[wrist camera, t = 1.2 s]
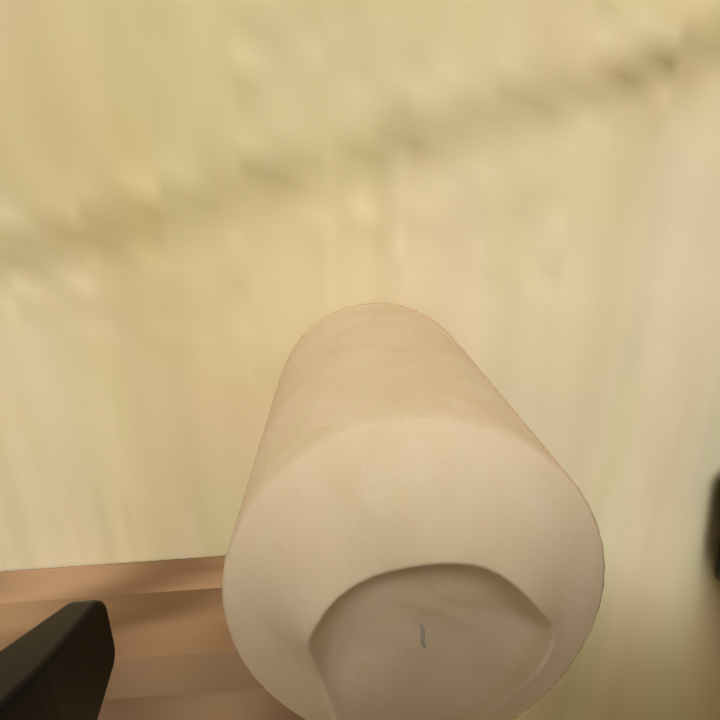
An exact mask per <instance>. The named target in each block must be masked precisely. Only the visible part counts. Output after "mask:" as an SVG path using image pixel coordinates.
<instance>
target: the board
mask: <svg viewBox="0 0 720 720" xmlns="http://www.w3.org/2000/svg"><path fill="white" fill-rule="evenodd" d="M225 557H226V556H218V557H204V558H189V559H175V560H161V561H146V562H132V563H118V564H104V565H89V566H75V567H61V568H46V569H32V570H18V571H3V572H0V651H1V650H2V649H4V648H5V647H6V646H8V645H9V644H11V643H12V642H14V641H15V640H17V639H18V638H19V637H21V636H22V635H24V634H25V633H27V632H28V631H29V630H31V629H32V628H34V627H35V626H37V625H38V624H39V623H41V622H42V621H44V620H45V619H47V618H48V617H49V616H51V615H52V614H54V613H55V612H57V611H58V610H60V609H61V608H62V607H64V606H65V605H67V604H68V603H70V602H72V601H77V600H91V599H100V600H101V601H103V602H104V603H105V605H106V608H107V612H108V616H109V621H110V626H111V630H112V635H113V640H114V645H115V660H114V665H113V669H112V673H111V676H110V679H109V683H108V686H107V689H106V693H105V696H104V700H103V703H102V706H101V710H100V713H99V716H98V720H305V719H304V718H302V717H300V716H299V715H297V714H296V713H294V712H293V711H291V710H290V709H289V708H287V707H286V706H285V705H283V704H282V703H281V702H280V701H279V700H277V699H276V698H275V697H274V696H272V695H271V694H270V693H269V692H268V691H267V690H266V689H265V688H264V687H263V686H262V685H261V684H260V683H259V682H258V681H257V680H256V678H255V677H254V676H253V675H252V673H251V672H250V670H249V669H248V668H247V666H246V665H245V663H244V662H243V661H242V659H241V657H240V655H239V653H238V651H237V649H236V647H235V645H234V643H233V641H232V638H231V635H230V632H229V629H228V626H227V623H226V618H225V613H224V607H223V601H222V577H223V570H224V563H225Z"/></svg>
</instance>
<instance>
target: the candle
mask: <svg viewBox="0 0 720 720" xmlns="http://www.w3.org/2000/svg"><path fill="white" fill-rule="evenodd" d="M604 569H605V564H604V554H603V544H602V540H601V537H600V533H599V529H598V525H597V522H596V520H595V518H594V515H593V513H592V511H591V508H590V506H589V504H588V502H587V501H586V499H585V498H584V496H583V494H582V493H581V491H580V490H579V488H578V487H577V485H576V484H575V482H574V481H573V480H572V479H571V478H570V476H569V475H568V474H567V473H566V472H565V470H564V469H563V468H562V467H561V466H560V464H559V463H558V462H557V461H556V460H555V458H554V457H553V456H552V455H551V454H550V452H549V451H548V450H547V449H546V448H545V446H544V445H543V444H542V443H541V442H540V441H539V439H538V438H537V437H536V436H535V435H534V433H533V432H532V431H531V430H530V429H529V427H528V426H527V425H526V424H525V423H524V421H523V420H522V419H521V418H520V417H519V415H518V414H517V413H516V412H515V411H514V410H513V408H512V407H511V406H510V405H509V404H508V402H507V401H506V400H505V399H504V398H503V396H502V395H501V394H500V393H499V392H498V390H497V389H496V388H495V387H494V386H493V385H492V383H491V382H490V381H489V380H488V379H487V377H486V376H485V375H484V374H483V373H482V371H481V370H480V369H479V368H478V367H477V365H476V364H475V363H474V362H473V361H472V359H471V358H470V357H469V356H468V355H467V354H466V352H465V351H464V350H463V349H462V348H461V346H460V345H459V344H458V343H457V342H456V341H455V340H454V338H453V337H452V336H451V335H450V334H449V333H448V332H447V331H446V330H445V329H444V328H442V327H441V326H440V325H439V324H438V323H436V322H435V321H433V320H432V319H430V318H429V317H427V316H425V315H423V314H421V313H419V312H417V311H415V310H412V309H409V308H406V307H403V306H397V305H392V304H381V303H372V304H361V305H357V306H352V307H348V308H346V309H343V310H340V311H337V312H335V313H334V314H332V315H330V316H328V317H326V318H324V319H323V320H321V321H320V322H319V323H317V324H316V325H314V326H313V327H312V328H311V329H310V330H309V331H308V332H306V333H305V334H304V336H303V337H302V338H301V339H300V340H299V342H298V343H297V344H296V346H295V347H294V349H293V350H292V352H291V353H290V355H289V357H288V359H287V362H286V364H285V366H284V369H283V371H282V374H281V377H280V380H279V384H278V387H277V390H276V393H275V397H274V400H273V403H272V406H271V410H270V413H269V416H268V419H267V423H266V426H265V429H264V432H263V436H262V439H261V442H260V445H259V449H258V452H257V455H256V458H255V462H254V465H253V468H252V471H251V475H250V478H249V481H248V484H247V488H246V491H245V494H244V497H243V501H242V504H241V507H240V510H239V514H238V517H237V520H236V523H235V527H234V530H233V533H232V537H231V540H230V543H229V546H228V550H227V553H226V557H225V563H224V570H223V577H222V601H223V607H224V613H225V618H226V623H227V626H228V629H229V632H230V635H231V638H232V641H233V643H234V645H235V647H236V649H237V651H238V653H239V655H240V657H241V659H242V661H243V662H244V663H245V665H246V666H247V668H248V669H249V670H250V672H251V673H252V675H253V676H254V677H255V678H256V680H257V681H258V682H259V683H260V684H261V685H262V686H263V687H264V688H265V689H266V690H267V691H268V692H269V693H270V694H271V695H272V696H274V697H275V698H276V699H277V700H279V701H280V702H281V703H282V704H283V705H285V706H286V707H287V708H289V709H290V710H291V711H293V712H294V713H296V714H297V715H299V716H300V717H302V718H304V719H305V720H512V719H514V718H515V717H517V716H518V715H520V714H521V713H523V712H524V711H525V710H527V709H528V708H529V707H531V706H532V705H533V704H534V703H535V702H536V701H537V700H539V699H540V698H541V697H542V696H543V695H544V694H545V693H546V692H547V691H548V690H550V688H551V687H552V686H553V685H554V684H555V683H556V682H557V681H558V680H559V678H560V677H561V676H562V675H563V674H564V673H565V671H566V670H567V668H568V667H569V666H570V664H571V663H572V661H573V660H574V658H575V657H576V655H577V654H578V652H579V651H580V649H581V648H582V646H583V644H584V642H585V640H586V638H587V636H588V634H589V632H590V631H591V629H592V626H593V624H594V621H595V618H596V615H597V612H598V610H599V606H600V601H601V597H602V592H603V587H604Z"/></svg>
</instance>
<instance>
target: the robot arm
mask: <svg viewBox="0 0 720 720" xmlns="http://www.w3.org/2000/svg"><path fill="white" fill-rule="evenodd" d="M716 577H717V579H718V580H719V582H720V549H719V556H718V563H717V569H716ZM114 660H115V645H114V640H113V635H112V630H111V626H110V621H109V616H108V612H107V608H106V605H105V603H104V602H103V601H101V600H100V599H91V600H77V601H72V602H70V603H68V604H67V605H65V606H64V607H62V608H61V609H60V610H58V611H57V612H55V613H54V614H52V615H51V616H49V617H48V618H47V619H45V620H44V621H42V622H41V623H39V624H38V625H37V626H35V627H34V628H32V629H31V630H29V631H28V632H27V633H25V634H24V635H22V636H21V637H19V638H18V639H17V640H15V641H14V642H12V643H11V644H9V645H8V646H6V647H5V648H4V649H2V650H1V651H0V720H98V716H99V713H100V710H101V706H102V703H103V700H104V696H105V693H106V689H107V686H108V683H109V679H110V676H111V673H112V669H113V665H114Z"/></svg>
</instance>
